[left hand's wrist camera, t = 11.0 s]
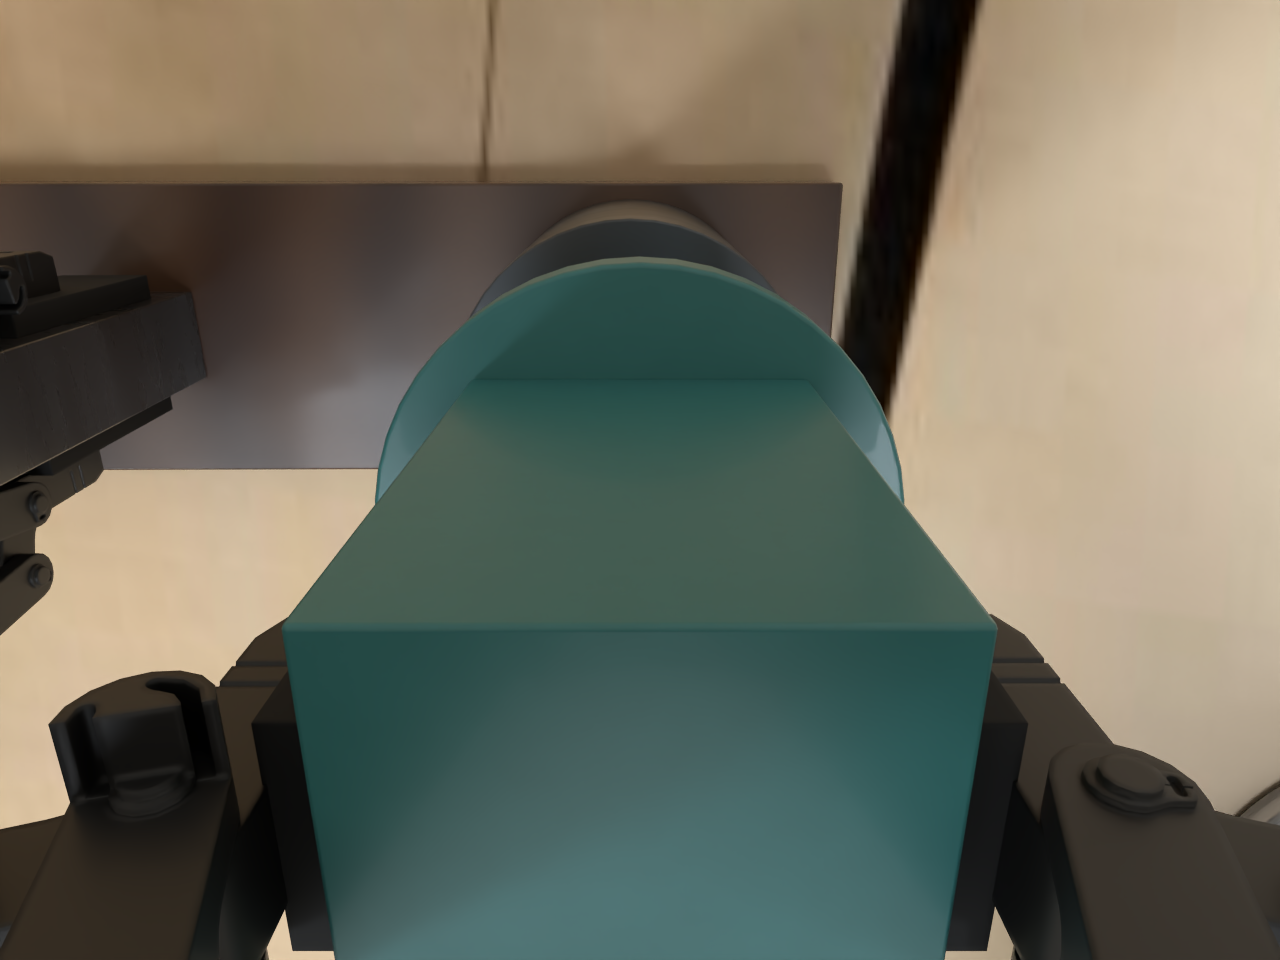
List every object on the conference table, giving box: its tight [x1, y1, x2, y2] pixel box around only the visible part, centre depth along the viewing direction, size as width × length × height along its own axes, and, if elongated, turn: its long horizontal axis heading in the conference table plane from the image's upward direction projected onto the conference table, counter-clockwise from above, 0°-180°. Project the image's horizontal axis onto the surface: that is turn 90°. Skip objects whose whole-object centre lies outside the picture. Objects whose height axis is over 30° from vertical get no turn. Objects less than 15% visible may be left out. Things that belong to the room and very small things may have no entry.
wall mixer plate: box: [0, 182, 843, 486], centre depth 26 cm, size 30×10×12 cm, turn 90°
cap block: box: [282, 257, 998, 960], centre depth 12 cm, size 9×9×9 cm
